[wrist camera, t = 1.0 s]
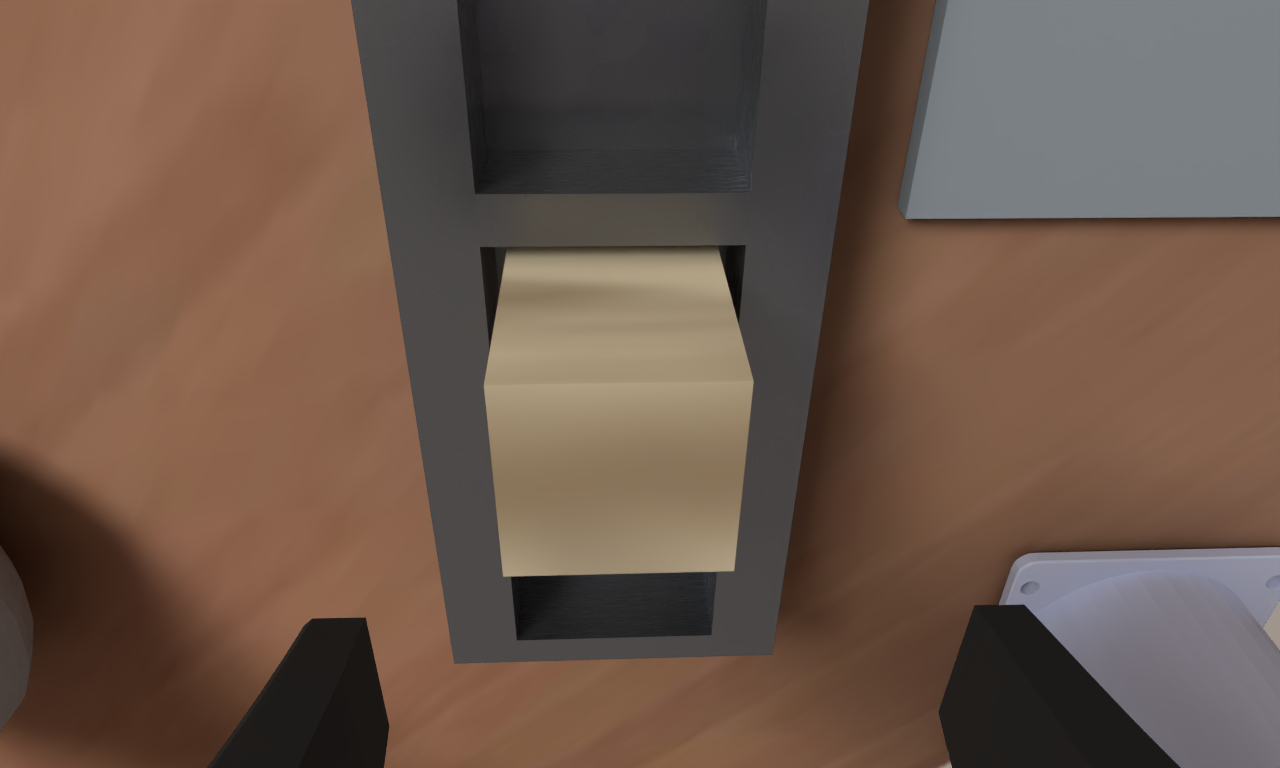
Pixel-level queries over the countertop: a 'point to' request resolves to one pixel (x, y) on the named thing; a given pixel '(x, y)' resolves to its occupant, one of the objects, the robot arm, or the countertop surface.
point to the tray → (608, 216)
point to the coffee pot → (13, 639)
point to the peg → (617, 411)
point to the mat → (1097, 110)
